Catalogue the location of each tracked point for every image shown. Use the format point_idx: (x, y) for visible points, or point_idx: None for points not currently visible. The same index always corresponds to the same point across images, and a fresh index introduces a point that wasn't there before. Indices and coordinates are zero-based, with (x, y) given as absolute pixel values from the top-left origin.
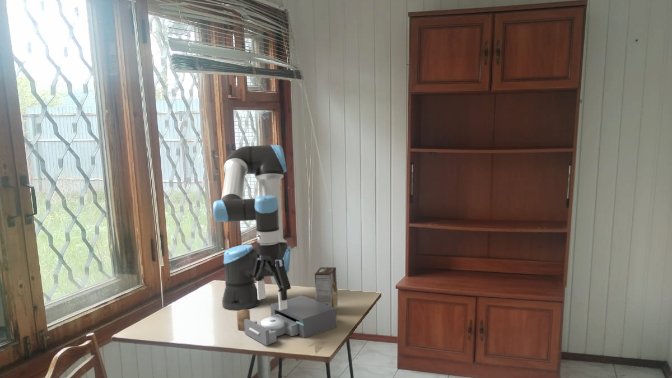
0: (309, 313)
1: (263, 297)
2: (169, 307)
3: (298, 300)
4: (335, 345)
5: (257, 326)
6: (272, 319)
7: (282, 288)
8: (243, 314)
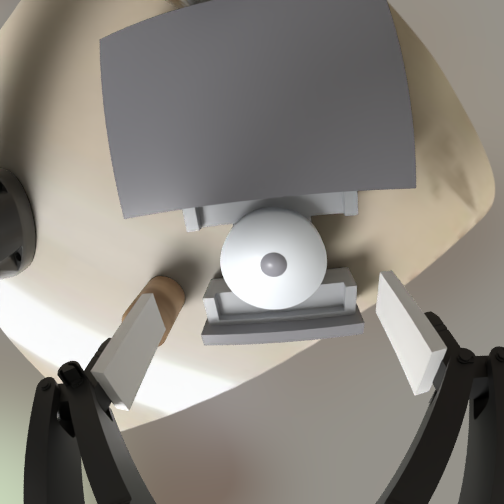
0: (379, 119)
1: (154, 308)
2: (13, 342)
3: (150, 72)
4: (475, 137)
5: (303, 339)
6: (256, 258)
7: (470, 399)
8: (166, 336)
